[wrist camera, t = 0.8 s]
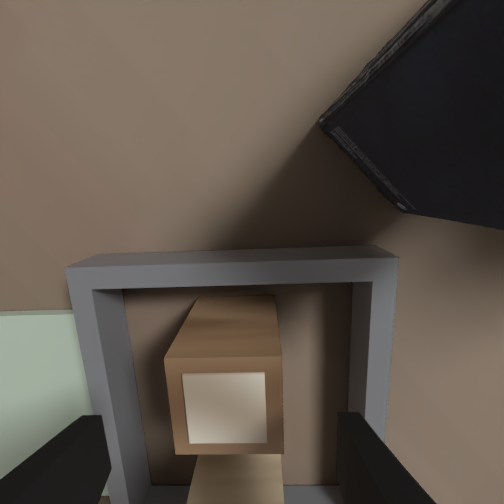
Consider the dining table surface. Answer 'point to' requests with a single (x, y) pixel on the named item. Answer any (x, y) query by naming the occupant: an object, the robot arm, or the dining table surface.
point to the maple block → (237, 479)
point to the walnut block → (227, 378)
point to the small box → (433, 114)
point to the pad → (38, 382)
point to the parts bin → (222, 274)
